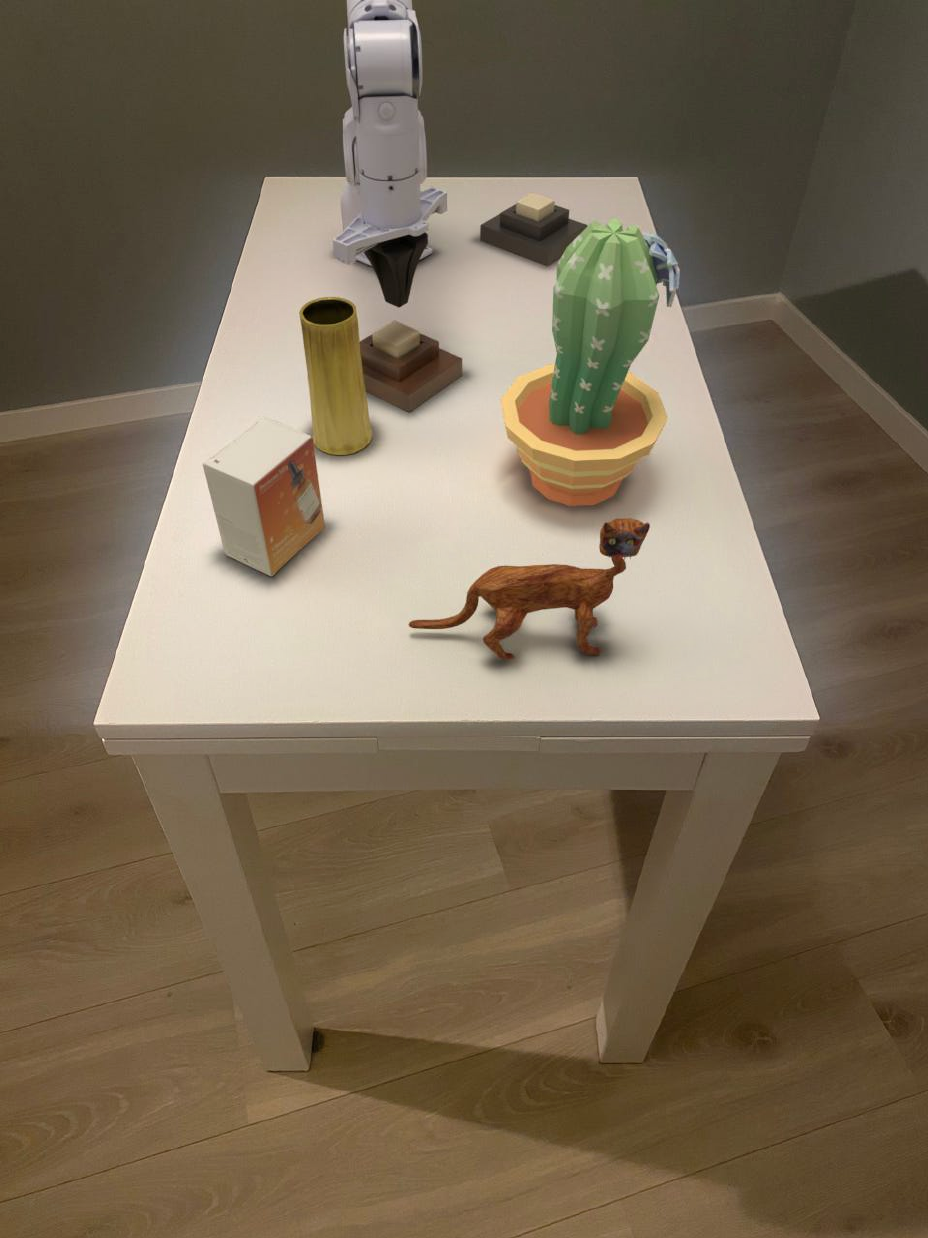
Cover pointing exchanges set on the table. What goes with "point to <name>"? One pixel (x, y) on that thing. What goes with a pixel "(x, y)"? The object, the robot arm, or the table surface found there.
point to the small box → (266, 495)
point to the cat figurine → (549, 589)
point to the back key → (535, 207)
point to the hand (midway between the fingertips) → (396, 301)
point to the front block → (408, 372)
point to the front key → (396, 339)
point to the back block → (532, 234)
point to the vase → (335, 376)
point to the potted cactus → (594, 368)
